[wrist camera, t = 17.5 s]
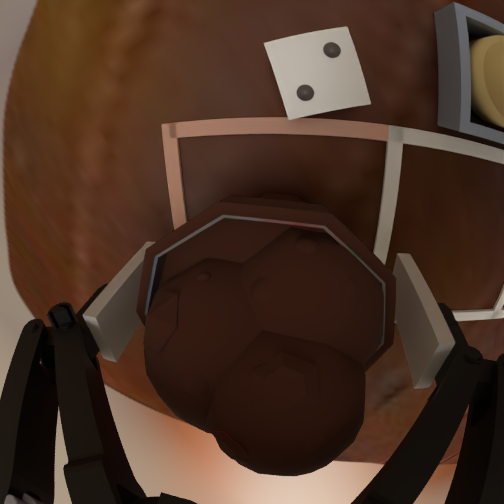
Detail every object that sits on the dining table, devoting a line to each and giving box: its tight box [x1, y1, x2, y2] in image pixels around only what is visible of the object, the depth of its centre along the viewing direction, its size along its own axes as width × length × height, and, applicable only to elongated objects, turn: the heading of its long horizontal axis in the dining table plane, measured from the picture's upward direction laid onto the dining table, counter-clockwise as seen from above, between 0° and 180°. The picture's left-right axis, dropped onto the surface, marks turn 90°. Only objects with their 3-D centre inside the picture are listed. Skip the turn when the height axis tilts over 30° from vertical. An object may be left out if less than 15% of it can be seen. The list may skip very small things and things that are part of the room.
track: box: [162, 117, 504, 323], centre depth 17 cm, size 15×43×1 cm, turn 91°
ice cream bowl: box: [136, 192, 396, 476], centre depth 13 cm, size 11×11×15 cm
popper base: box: [434, 2, 504, 144], centre depth 10 cm, size 8×8×3 cm
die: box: [264, 27, 371, 120], centre depth 13 cm, size 4×4×4 cm
